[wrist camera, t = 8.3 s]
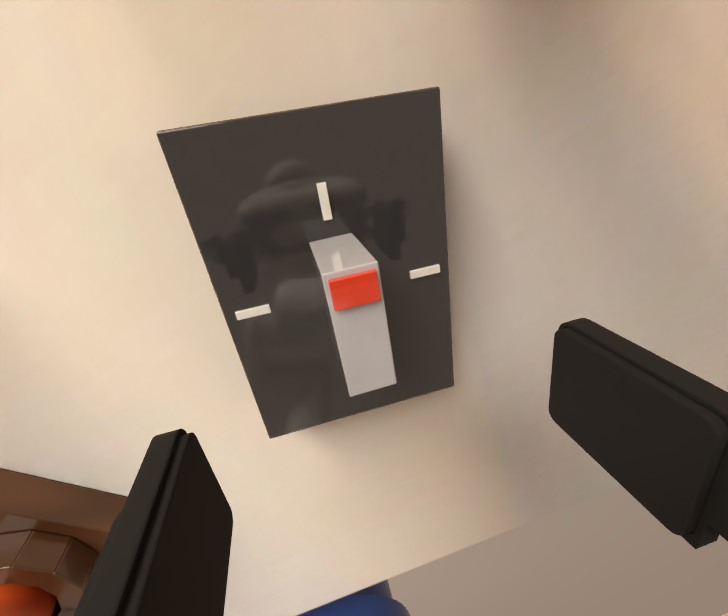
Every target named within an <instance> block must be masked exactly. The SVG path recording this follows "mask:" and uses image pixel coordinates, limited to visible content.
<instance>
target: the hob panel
mask: <svg viewBox="0 0 728 616" xmlns="http://www.w3.org/2000/svg"><path fill="white" fill-rule="evenodd" d="M157 137H158V140H159V143H160V145H161V148H162V151H163V153H164V156H165V159H166V161H167V164H168V167H169V169H170V172H171V175H172V177H173V180H174V183H175V185H176V188H177V191H178V194H179V196H180V199H181V202H182V204H183V207H184V210H185V212H186V215H187V218H188V220H189V223H190V226H191V228H192V231H193V234H194V236H195V239H196V242H197V245H198V247H199V250H200V253H201V255H202V258H203V261H204V263H205V266H206V269H207V271H208V274H209V277H210V279H211V282H212V285H213V287H214V290H215V293H216V296H217V298H218V301H219V304H220V306H221V309H222V312H223V314H224V317H225V320H226V322H227V325H228V328H229V330H230V333H231V336H232V338H233V341H234V344H235V347H236V349H237V352H238V355H239V357H240V360H241V363H242V365H243V368H244V371H245V373H246V376H247V379H248V381H249V384H250V387H251V389H252V392H253V395H254V398H255V400H256V403H257V406H258V408H259V411H260V414H261V416H262V419H263V422H264V424H265V427H266V430H267V432H268V435H269V437H270V438H275V437H278V436H282V435H285V434H289V433H292V432H296V431H299V430H303V429H306V428H310V427H313V426H317V425H320V424H323V423H327V422H330V421H334V420H337V419H341V418H344V417H348V416H351V415H355V414H358V413H362V412H365V411H369V410H372V409H376V408H379V407H383V406H386V405H390V404H393V403H397V402H400V401H403V400H407V399H410V398H414V397H417V396H421V395H424V394H428V393H431V392H435V391H438V390H442V389H445V388H449V387H452V386H454V374H453V354H452V333H451V313H450V292H449V272H448V251H447V231H446V210H445V190H444V169H443V149H442V129H441V108H440V89H439V87H431V88H425V89H419V90H413V91H406V92H400V93H394V94H388V95H381V96H375V97H369V98H362V99H356V100H350V101H344V102H337V103H331V104H325V105H318V106H312V107H306V108H300V109H293V110H287V111H281V112H274V113H268V114H262V115H256V116H249V117H243V118H237V119H231V120H224V121H218V122H212V123H205V124H199V125H193V126H187V127H180V128H174V129H168V130H161V131H158V132H157ZM348 233H353V235H354V236H355V237H356V238H357V239H358V240H359V241H360V242H361V243H362V245H363V246H364V247H365V248H366V249H367V250H368V251H369V252H370V254H371V255H372V256H373V257H374V258H375V259H376V260H377V261H378V265H379V271H380V278H381V284H382V290H383V297H384V303H385V310H386V316H387V322H388V329H389V335H390V342H391V348H392V355H393V361H394V367H395V374H396V380H397V383H396V384H393V385H390V386H386V387H383V388H379V389H376V390H372V391H369V392H366V393H362V394H359V395H355V396H352V397H350V396H349V393H348V389H347V386H346V383H345V380H344V376H343V373H342V370H341V367H340V364H339V360H338V357H337V354H336V351H335V347H334V344H333V341H332V337H331V332H330V328H329V324H328V320H327V316H326V312H325V308H324V303H323V299H322V295H321V291H320V287H319V283H318V279H317V275H316V270H315V266H314V262H313V258H312V254H311V250H310V246H309V243H310V242H313V241H317V240H322V239H326V238H330V237H335V236H339V235H344V234H348Z"/></svg>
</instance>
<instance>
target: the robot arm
mask: <svg viewBox="0 0 728 616" xmlns="http://www.w3.org/2000/svg"><path fill="white" fill-rule="evenodd" d="M549 413H550V415H551V417H552V419H553V420H554V421H555V423H557V424H558V425H559V426H560V427H561V428H562V429H563V430H564V431H565V432H566V433H567V434H568V435H569V436H570V437H571V438H572V439H573V440H574V441H575V442H577V443H578V444H579V445H580V446H581V447H582V448H583V449H584V450H585V451H586V452H587V453H588V454H589V455H590V456H591V457H592V458H593V459H594V460H595V461H597V462H598V463H599V464H600V465H601V466H602V467H603V468H604V469H605V470H606V471H607V472H608V473H609V474H610V475H611V476H612V477H613V478H614V479H615V480H617V481H618V482H619V483H620V484H621V485H622V486H623V487H624V488H625V489H626V490H627V491H628V492H629V493H630V494H631V495H632V496H634V498H635V499H637V500H638V501H639V502H640V503H641V504H642V505H643V506H644V507H645V508H646V509H647V510H648V511H649V512H650V513H651V514H652V515H653V516H655V518H657V519H658V520H659V521H660V522H661V523H662V524H663V525H664V526H665V527H666V528H667V529H668V530H670V531H671V532H672V533H674V534H677V535H681V536H682V537H683V538H684V539H685V540H686V541H687V542H688V543H689V544H691V545H692V546H693V547H694V548H695V549H697V548H699V547H702V546H705V545H707V544H709V543H712V542H714V541H717V539H718V536H719V534H720V535H721V536H722V537H723V538H725V539H726V540H727V541H728V392H726V391H724V390H722V389H720V388H719V387H717V386H715V385H713V384H711V383H709V382H707V381H705V380H703V379H701V378H699V377H698V376H696V375H694V374H692V373H690V372H688V371H686V370H684V369H682V368H680V367H678V366H677V365H675V364H673V363H671V362H669V361H667V360H665V359H663V358H661V357H659V356H658V355H656V354H654V353H652V352H650V351H648V350H646V349H644V348H642V347H640V346H638V345H637V344H635V343H633V342H631V341H629V340H627V339H625V338H623V337H621V336H619V335H618V334H616V333H614V332H612V331H610V330H608V329H606V328H604V327H602V326H600V325H598V324H597V323H595V322H593V321H591V320H589V319H586V318H580V319H576V320H573V321H569V322H565V323H563V324H561V325H560V327H559V329H558V331H556V333H555V337H554V349H553V361H552V373H551V386H550V398H549ZM232 528H233V517H232V511H231V508H230V506H229V504H228V502H227V500H226V498H225V495H224V493H223V491H222V489H221V487H220V485H219V483H218V481H217V479H216V477H215V475H214V473H213V471H212V468H211V466H210V464H209V462H208V460H207V458H206V456H205V454H204V452H203V450H202V448H201V446H200V444H199V441H198V439H197V437H196V436H195V434H194V433H188V434H187V433H186V431H185V430H183V429H178V430H175V431H171V432H168V433H164V434H160V435H157V436H155V437H153V439H152V441H151V443H150V445H149V448H148V450H147V452H146V455H145V457H144V460H143V462H142V464H141V467H140V469H139V472H138V474H137V476H136V479H135V481H134V484H133V486H132V488H131V491H130V493H129V496H128V498H127V500H126V503H125V505H124V507H123V510H122V511H121V512H120V513H118V515H117V517H116V518H115V520H114V522H113V524H112V526H111V529H110V531H109V533H108V536H107V538H106V540H105V543H104V545H103V547H102V550H101V552H100V554H99V557H98V559H97V561H96V564H95V566H94V568H93V571H92V573H91V575H90V578H89V580H88V582H87V585H86V587H85V589H84V592H83V594H82V596H81V599H80V601H79V603H78V606H77V608H76V610H75V613H74V615H73V616H223V614H224V604H225V595H226V585H227V576H228V566H229V557H230V547H231V537H232ZM722 616H728V613H726V614H724V615H722Z"/></svg>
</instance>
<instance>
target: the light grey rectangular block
mask: <svg viewBox="0 0 728 616" xmlns="http://www.w3.org/2000/svg"><path fill="white" fill-rule="evenodd" d="M309 246H310V250H311V254H312V258H313V262H314V266H315V270H316V275H317V279H318V283H319V287H320V291H321V295H322V299H323V303H324V308H325V312H326V316H327V320H328V324H329V328H330V332H331V337H332V341H333V344H334V347H335V351H336V354H337V357H338V360H339V364H340V367H341V370H342V373H343V376H344V380H345V383H346V386H347V389H348V393H349V396H350V397H352V396H355V395H359V394H362V393H366V392H369V391H372V390H376V389H379V388H383V387H386V386H390V385H393V384H396V383H397V380H396V374H395V367H394V361H393V355H392V348H391V342H390V335H389V329H388V322H387V316H386V310H385V303H384V297H383V290H382V284H381V278H380V271H379V265H378V261H377V260H376V259H375V258H374V257H373V256H372V255H371V254H370V252H369V251H368V250H367V249H366V248H365V247H364V246H363V245H362V243H361V242H360V241H359V240H358V239H357V238H356V237H355V236H354V235H353V233H348V234H344V235H339V236H335V237H330V238H326V239H322V240H317V241H313V242H310V243H309Z"/></svg>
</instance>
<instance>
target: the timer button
mask: <svg viewBox="0 0 728 616" xmlns="http://www.w3.org/2000/svg"><path fill="white" fill-rule="evenodd" d="M56 603H57V598H56V596H54V595H53V594H51V593H49V592H47V591H45V590H43V589H41V588H39V587H34V586H26V585H17V584H5V585H0V616H51V615H52V613H53V611H54V608H55V606H56Z"/></svg>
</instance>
